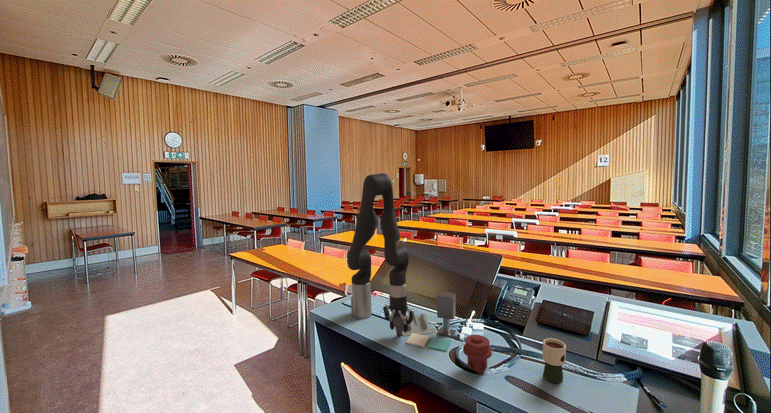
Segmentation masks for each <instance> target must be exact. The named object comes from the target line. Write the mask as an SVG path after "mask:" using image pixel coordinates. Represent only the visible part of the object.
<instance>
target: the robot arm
mask: <svg viewBox="0 0 771 413" xmlns="http://www.w3.org/2000/svg"><path fill="white" fill-rule="evenodd" d="M362 184H363V185H362V192H361V201H360V207H359V213H358V216H357V220H356V224H355V230H354V234H353V239H352V241H351V245H350V247H349V250H348V254H347V257H346V258H347V259H346V262H347V267H348V269H350V270H351V271H357V272H356V273H355V274H353V275H352V277H351V293H352V294H351V295H352V296H351V297H350V306H351V307H350V308H351V310H350V311H351V316H353V317H354V318H356V319H360V320H361V319H363V320H364V319H367V318H368V319H369V317H371V316H372V294H371V293H372V292H371V290H372V289H371V287H372V286H371V277H372V256H371V252H370V251H369V250H368V249H367V248H365V246H366V245H367V244H368V243H369V241H370V240H371V239H373V237H374V235H375V234H376V231H377V230H376V229H377V226H378V219H379V218H378V216H377V213H376V211H375V208H374V203H375V199H376V197H378V196H381V197H382V200H383V201H382V202H383V209H382V214H381V218H380V229H381V231H382V236H383V239H384V241H383V243H384V245H383V247H384V248H383V251H384V256H383V257H384V260H385V262H386V263H387V265H389V266H390V267H393V268H392V269H390V271H389V278H388V279H389V287H388V290H389V292H388V293H389V295H388V296H389V305H388V304H385V305H384V306H383V308H382V310H383V315H384V319H385V320H386V321H388V322H389V328H390V330H391V331H393V330H394V329H395V326H394V324H393V318H394V316H399V317H401V319H402V320H403V322H404V326H403V331H404V332H405V333H406V331H407V330H408V324H411V322H412V321H413V315H414V314H415V309H413V308H412V309H411V308H409V307H408V290H407V289H408V287H407V276H406V275H407V274H406V273H407V271H408V267H409V262H410V255H409V251H408V249H407V248H406V247H404V246H397V243H398V242H399V241H400V240H401V234H400V229H399V226H398V221H397V218H396V210H395V200H394V191H393V184H392V180H391V178H390V176H389V175H388V174H387V173H385V172H383V173H376V174H369V175H367V176H365V179H364V181H363V183H362ZM389 310H390V311H389ZM390 312H391V313H390ZM407 315H408V316H409V319H408V318H407Z"/></svg>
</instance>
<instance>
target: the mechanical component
mask: <svg viewBox="0 0 771 413" xmlns="http://www.w3.org/2000/svg"><path fill="white" fill-rule="evenodd" d="M462 350H463V351H462V352H463V354H464V355H465V356H466V357H467V368H468V367H469V368H471V369H473V370H472V371H474V370H476V371H478V373H477V374H478V375H483V374H484V371H485V370H487V368H488V359H490V358H491V357H492V355H493V350H492V347H491V346H490V340H489V338H488V337H486V336H484V335H481V334H470V335H468V336H466V337H465V344H464V345H463V347H462ZM476 371H475V372H476Z"/></svg>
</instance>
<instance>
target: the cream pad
mask: <svg viewBox="0 0 771 413" xmlns="http://www.w3.org/2000/svg"><path fill="white" fill-rule="evenodd" d="M429 339H430V335H426V334H423V335H420V334H415V333H412V334H411V335H410V336H408V338H407V340H405V344H409V345H412V346H413V345H414V346H416V347H417V346H418V347H422V348H423V347H424V348H425V346H426V344H427V342H428V340H429Z"/></svg>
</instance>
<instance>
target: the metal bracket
mask: <svg viewBox="0 0 771 413" xmlns="http://www.w3.org/2000/svg"><path fill="white" fill-rule="evenodd" d="M407 318H408V319H409V314H407ZM412 333H415V334H420V335H434V334H437V330H436V328H433V327H431V326H430V324H429V321H428V317H427V315H426V313H425V314H424V313H421V314H415V313H414V315H413V321H412V322H411V324H408V330H407V331H406V333H405V332H404V330H402V337H404V338H405V337H410V335H411V334H412Z"/></svg>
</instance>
